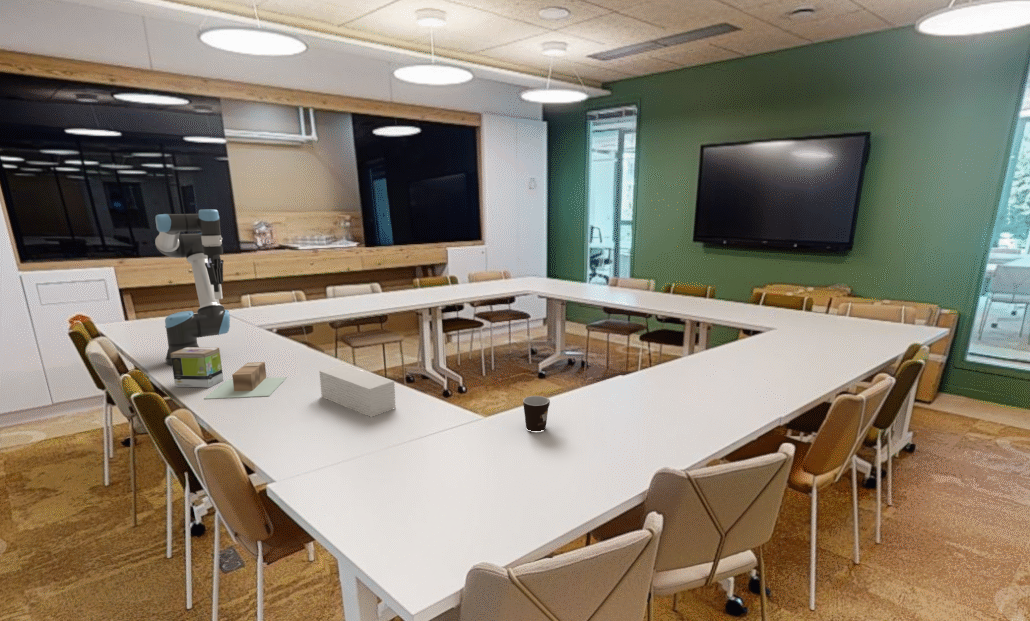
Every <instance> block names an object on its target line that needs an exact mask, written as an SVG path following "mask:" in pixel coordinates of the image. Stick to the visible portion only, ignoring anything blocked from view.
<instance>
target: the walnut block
mask: <svg viewBox="0 0 1030 621" xmlns="http://www.w3.org/2000/svg"><path fill="white" fill-rule="evenodd" d="M265 378H267V370H266V362H265V361H257V362H256V361H254V362H246V363H245V364H244V365H243V366H241V367H240V368H239V369H238V370H236V371H234V373H232V379H233V385H234V391H253V390H254V389H255V388H256V387H257V386H258V385H259V384H260V383H261V382H262V381H263V380H264V379H265Z"/></svg>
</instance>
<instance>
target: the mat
mask: <svg viewBox="0 0 1030 621" xmlns="http://www.w3.org/2000/svg"><path fill="white" fill-rule="evenodd" d="M287 378H288V377H286V376H285V377H284V376H283V377H282V376H281V377H266V378H265V379H264V380H263V381H262V382H261V383H260V384H259V385H258V386H257V387H256V388H255V389H254V390H253V391H234V385H233V378H232V379H226V380H225V381H224V382H223V383H222V384H220V385H219V386H218V387H216V389H214V390H213V391H211V392H210V393H209V394H208V395H206V396H205V397H204V398H203V399H204V400H212V399H213V400H214V399H215V400H217V399H237V398H238V399H239V398H262V397H270V396H272V394H274V392H275V391H276V390H277V389H278V388H279V386H281V385H282V384H283V383H284V382H285V380H286V379H287Z"/></svg>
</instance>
